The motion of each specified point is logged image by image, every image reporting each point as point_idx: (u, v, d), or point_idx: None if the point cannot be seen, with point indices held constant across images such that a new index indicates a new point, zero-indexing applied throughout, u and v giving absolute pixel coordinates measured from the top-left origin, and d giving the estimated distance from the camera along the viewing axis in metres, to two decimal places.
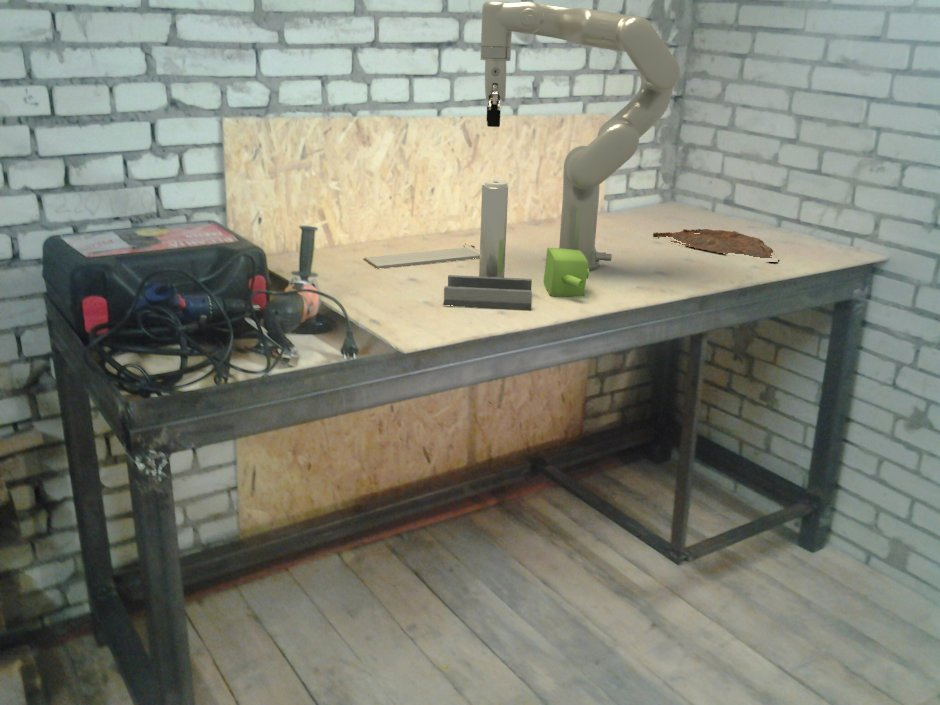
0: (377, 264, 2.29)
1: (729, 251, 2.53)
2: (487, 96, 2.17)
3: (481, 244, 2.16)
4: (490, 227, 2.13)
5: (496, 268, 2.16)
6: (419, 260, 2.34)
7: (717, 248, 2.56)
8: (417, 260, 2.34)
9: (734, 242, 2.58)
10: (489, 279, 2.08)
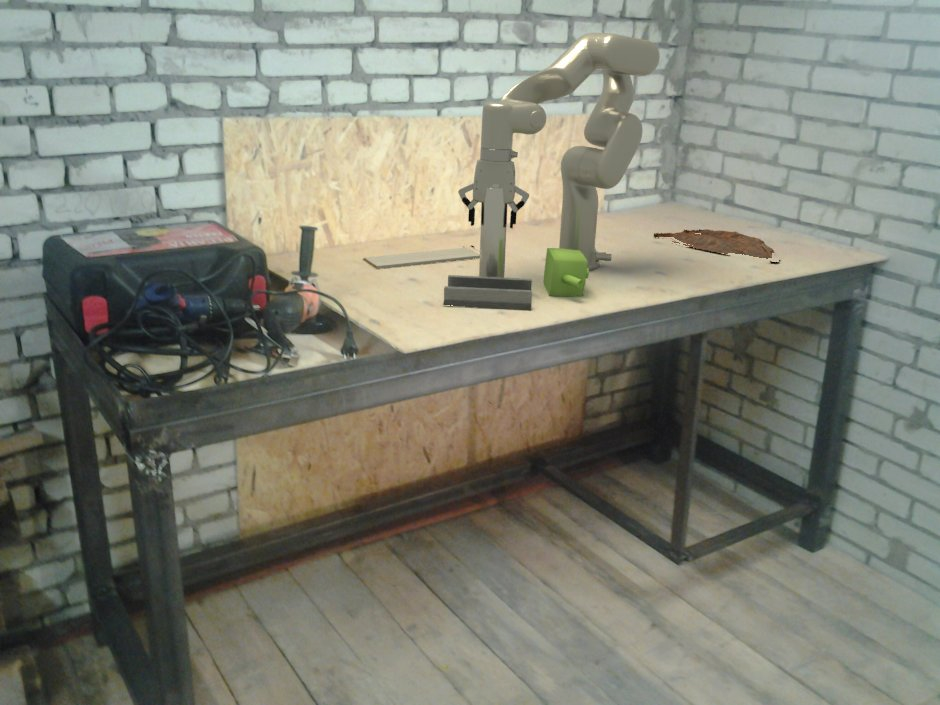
0: (377, 264, 2.29)
1: (730, 251, 2.53)
2: (512, 199, 2.11)
3: (481, 244, 2.16)
4: (490, 227, 2.13)
5: (496, 268, 2.16)
6: (419, 260, 2.34)
7: (717, 248, 2.56)
8: (417, 260, 2.34)
9: (735, 242, 2.57)
10: (489, 279, 2.08)
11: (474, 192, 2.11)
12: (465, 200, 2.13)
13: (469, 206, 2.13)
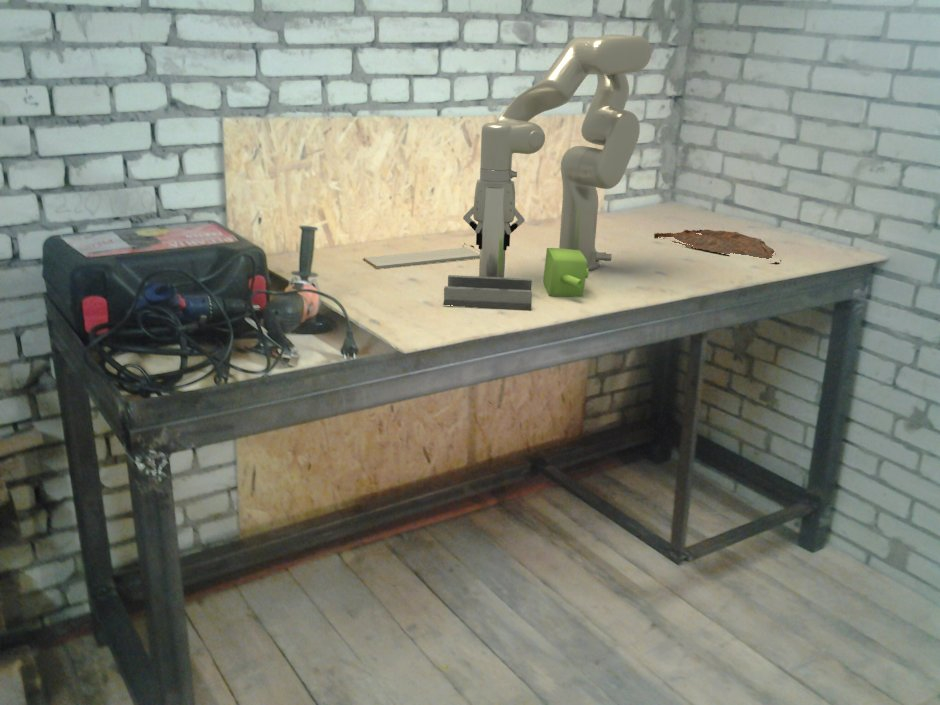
0: (377, 264, 2.29)
1: (730, 251, 2.53)
2: (513, 218, 2.13)
3: (481, 244, 2.16)
4: (490, 227, 2.13)
5: (496, 268, 2.16)
6: (419, 260, 2.34)
7: (718, 248, 2.56)
8: (417, 260, 2.34)
9: (735, 243, 2.57)
10: (489, 279, 2.08)
11: (474, 212, 2.13)
12: (472, 224, 2.15)
13: (477, 230, 2.15)
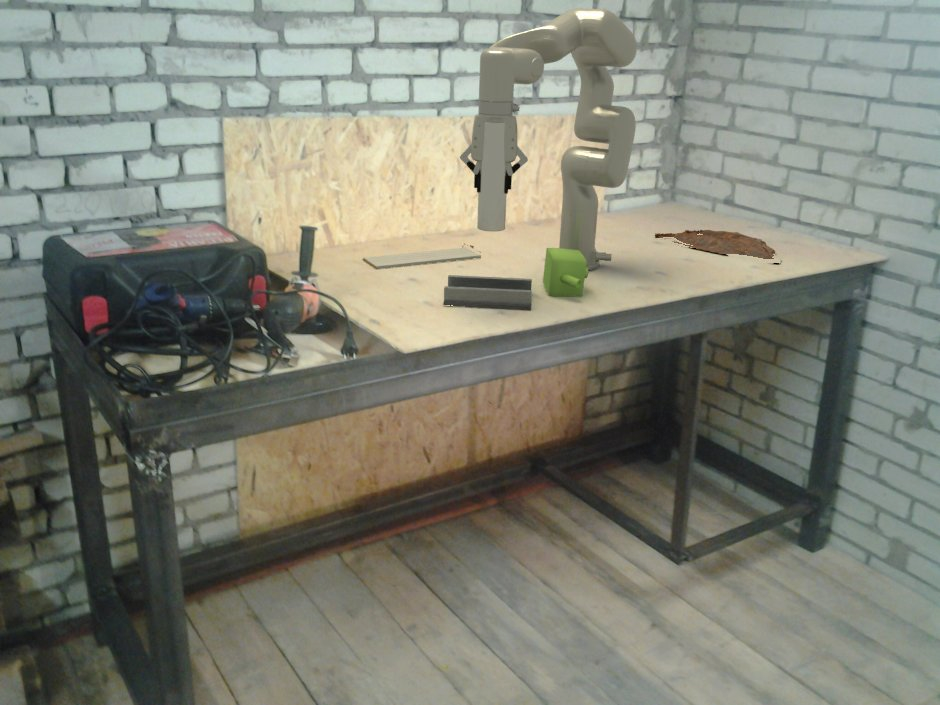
0: (376, 264, 2.29)
1: (731, 252, 2.53)
2: (515, 157, 1.92)
3: (480, 186, 1.95)
4: (490, 167, 1.92)
5: (496, 213, 1.96)
6: (418, 260, 2.34)
7: (719, 249, 2.55)
8: (416, 260, 2.34)
9: (736, 243, 2.57)
10: (489, 279, 2.08)
11: (472, 150, 1.92)
12: (470, 164, 1.94)
13: (475, 171, 1.94)
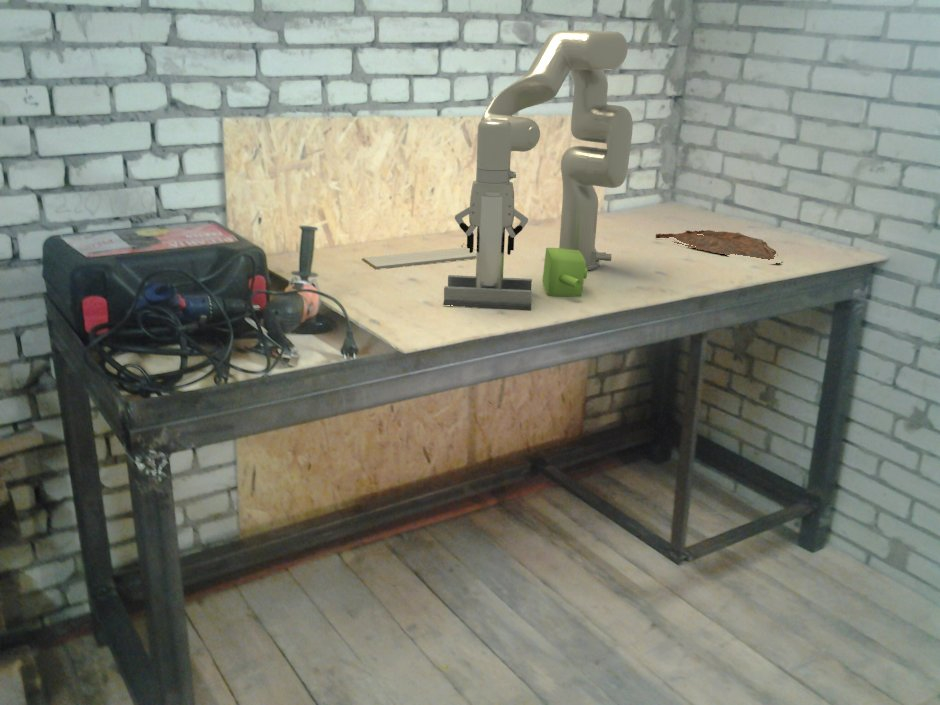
0: (376, 264, 2.29)
1: (732, 252, 2.52)
2: (511, 222, 1.97)
3: (477, 256, 2.01)
4: (487, 238, 1.97)
5: (493, 282, 2.01)
6: (418, 260, 2.34)
7: (719, 249, 2.55)
8: (416, 260, 2.34)
9: (737, 243, 2.56)
10: None
11: (470, 216, 1.97)
12: (463, 226, 1.99)
13: (467, 232, 1.99)
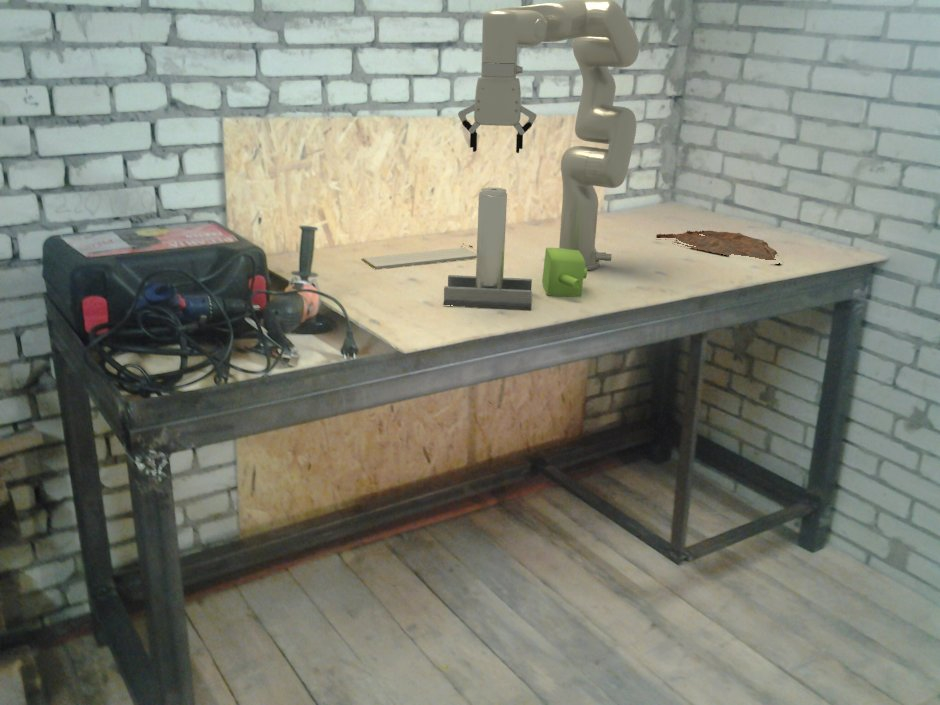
0: (375, 264, 2.29)
1: (732, 253, 2.52)
2: (518, 119, 1.91)
3: (478, 256, 2.01)
4: (487, 238, 1.98)
5: (494, 282, 2.01)
6: (417, 260, 2.34)
7: (720, 250, 2.54)
8: (415, 260, 2.33)
9: (738, 244, 2.56)
10: None
11: (476, 113, 1.91)
12: (466, 123, 1.93)
13: (470, 130, 1.93)
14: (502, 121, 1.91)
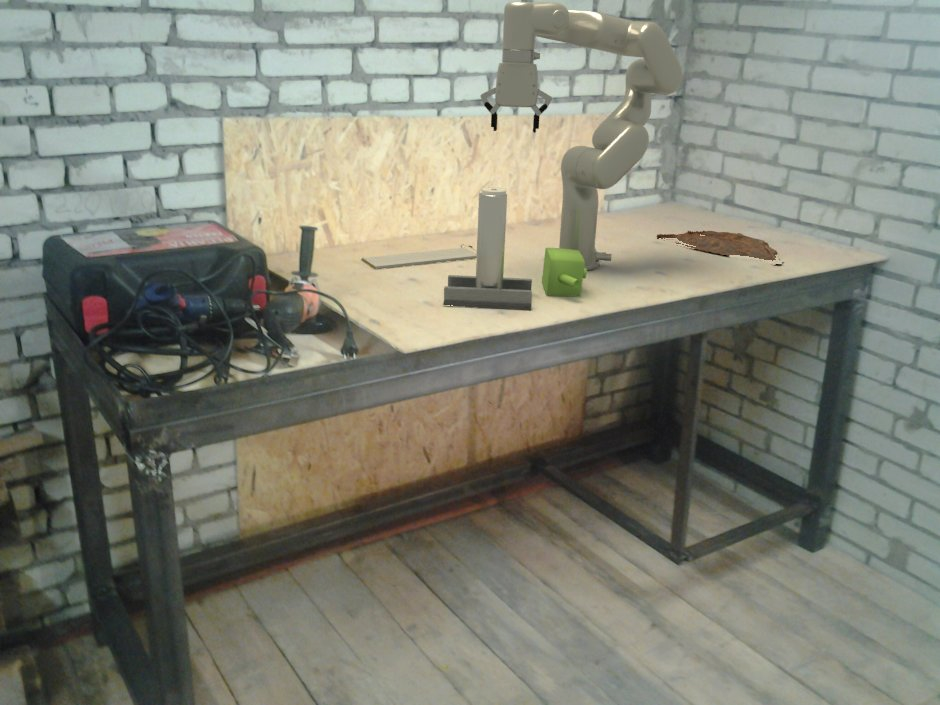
0: (375, 264, 2.28)
1: (733, 253, 2.52)
2: (535, 101, 2.09)
3: (478, 256, 2.01)
4: (487, 238, 1.98)
5: (493, 282, 2.01)
6: (417, 260, 2.33)
7: (720, 250, 2.54)
8: (415, 260, 2.33)
9: (738, 244, 2.56)
10: None
11: (497, 95, 2.09)
12: (487, 104, 2.11)
13: (492, 110, 2.11)
14: (521, 103, 2.09)
